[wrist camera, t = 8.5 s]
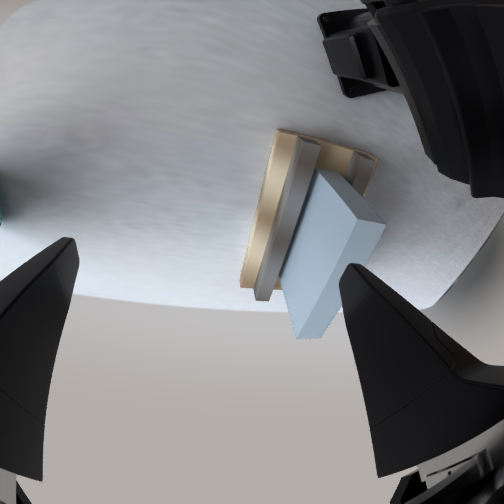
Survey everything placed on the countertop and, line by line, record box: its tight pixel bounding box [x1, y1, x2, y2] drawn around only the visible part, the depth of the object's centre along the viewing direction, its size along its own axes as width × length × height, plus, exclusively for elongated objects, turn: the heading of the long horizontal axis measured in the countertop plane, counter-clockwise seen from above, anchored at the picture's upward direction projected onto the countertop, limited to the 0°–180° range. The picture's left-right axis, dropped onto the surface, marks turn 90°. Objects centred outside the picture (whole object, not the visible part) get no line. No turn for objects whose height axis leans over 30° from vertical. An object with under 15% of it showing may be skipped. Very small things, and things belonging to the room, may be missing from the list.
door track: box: [240, 129, 379, 301], centre depth 21 cm, size 14×8×2 cm, turn 168°
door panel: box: [278, 167, 387, 339], centre depth 19 cm, size 10×2×7 cm, turn 168°
